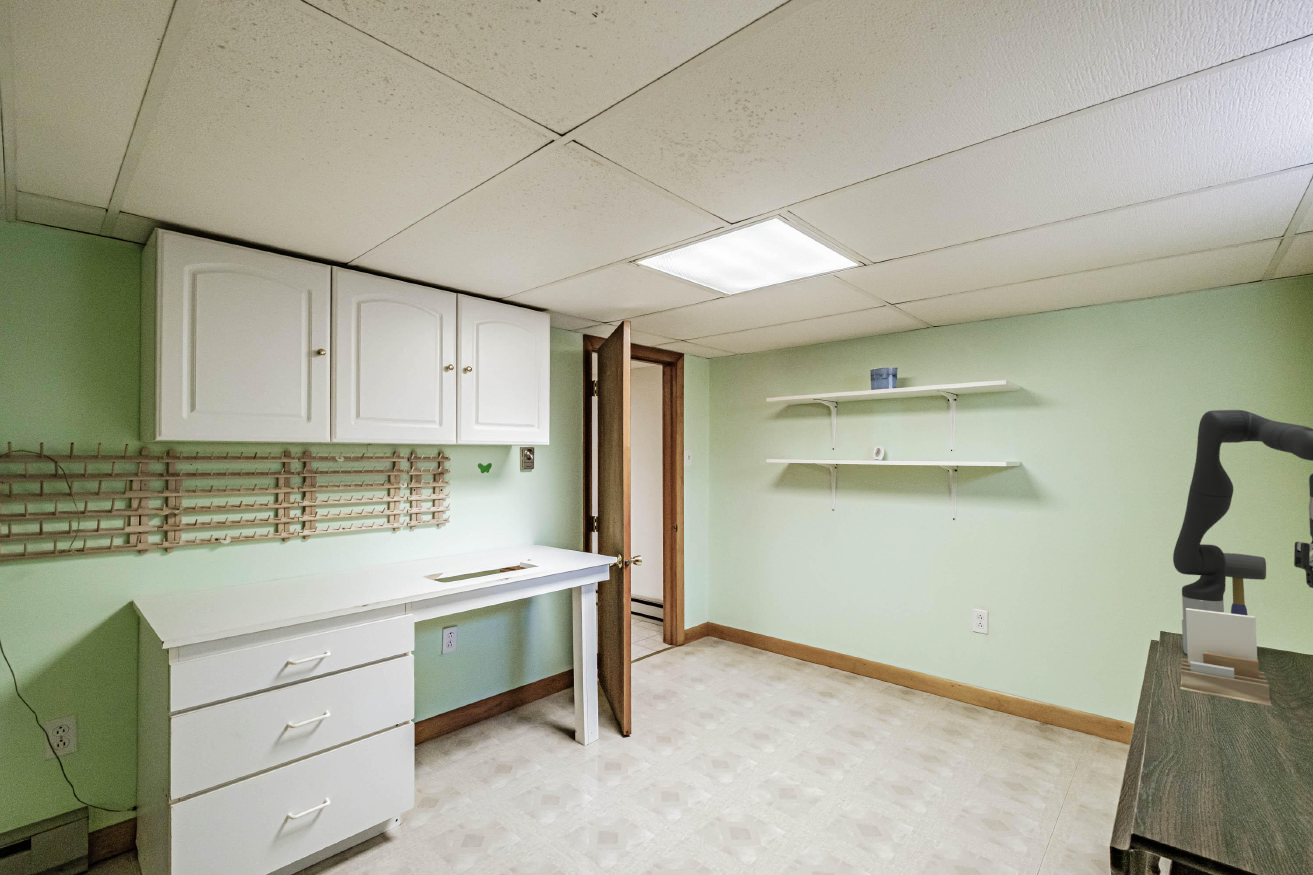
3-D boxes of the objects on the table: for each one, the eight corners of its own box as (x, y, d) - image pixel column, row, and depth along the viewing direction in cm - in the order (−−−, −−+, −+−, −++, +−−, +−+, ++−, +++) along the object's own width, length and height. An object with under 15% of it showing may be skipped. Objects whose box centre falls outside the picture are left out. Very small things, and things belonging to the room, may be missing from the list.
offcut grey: (1191, 684, 152) (1190, 660, 152) (1234, 692, 146) (1233, 668, 147) (1191, 686, 150) (1190, 662, 150) (1235, 695, 145) (1234, 670, 145)
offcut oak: (1204, 682, 153) (1202, 651, 153) (1259, 692, 146) (1257, 660, 146) (1204, 685, 151) (1203, 653, 152) (1260, 695, 145) (1258, 662, 145)
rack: (1181, 676, 161) (1180, 656, 161) (1265, 691, 150) (1264, 670, 150) (1180, 693, 149) (1179, 672, 149) (1272, 711, 138) (1271, 688, 139)
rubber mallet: (1271, 654, 179) (1266, 554, 180) (1268, 660, 174) (1264, 557, 175) (1215, 645, 188) (1211, 550, 189) (1211, 649, 183) (1207, 552, 185)
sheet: (1188, 676, 158) (1185, 607, 158) (1258, 688, 149) (1254, 616, 150) (1188, 678, 156) (1185, 609, 157) (1258, 690, 147) (1255, 617, 148)
